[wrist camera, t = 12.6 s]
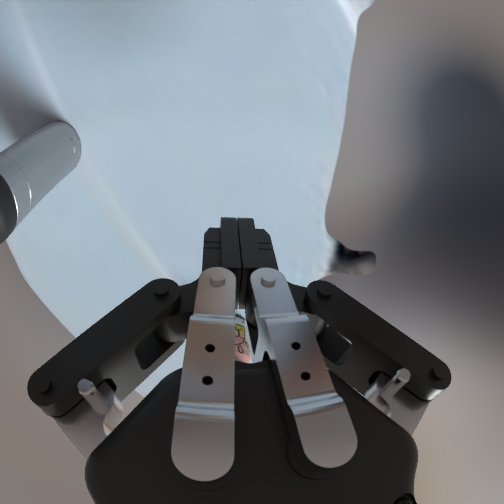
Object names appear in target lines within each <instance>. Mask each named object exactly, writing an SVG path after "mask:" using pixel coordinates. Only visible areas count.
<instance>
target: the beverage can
mask: <svg viewBox="0 0 504 504" xmlns="http://www.w3.org/2000/svg"><path fill="white" fill-rule="evenodd" d="M235 361H240V362H245V363H250V349H249V344H248V339H247V334H246V329H245V321H244V320H243V319H242V318H240V317H237V316H235Z"/></svg>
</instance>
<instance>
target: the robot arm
mask: <svg viewBox="0 0 504 504" xmlns="http://www.w3.org/2000/svg"><path fill="white" fill-rule="evenodd" d="M80 155H81V145H80V140H79V137H78V135H77V133H76V132H75V130H74V129H73V128H72V127H71V126H70V125H68V124H67V123H64V122H61V121H55V122H51V123H49V124H47V125H45V126H43V127H42V128H40V129H38V130H36V131H34V132H32V133H31V134H29V135H27V136H25V137H24V138H22V139H20V140H19V141H17V142H15V143H14V144H12V145H11V146H9V147H8V148H6V149H4V150H3V151H1V152H0V244H1V243H2V242H4V241H5V240H6V239H7V238H8V236H9V235H10V234H11V233H12V232H13V230H14V229H15V228H16V227H17V226H18V224H19V223H20V222H21V221H22V220H23V219H24V218H25V217H26V215H27V214H28V213H29V212H30V211H31V210H32V209H33V208H34V207H35V206H36V205H37V204H38V203H39V202H40V201H41V199H42V198H43V197H44V196H45V195H46V194H47V193H48V192H50V191H51V190H52V189H53V188H54V187H55V186H56V185H57V184H58V183H59V182H60V181H61V180H62V179H63V178H64V177H65V176H67V175H68V174H69V173H70V172H71V171H72V170H73V169H74V168H75V167H76V165H77V164H78V162H79V159H80ZM238 304H239V309H245V314H246V316H245V329H246V334H247V339H248V344H249V349H250V354H251V359H252V363H245V362H240V361H235V309H237V308H238ZM329 325H330V326H331V327H333V328H334V329H336V330H337V331H338V332H340V333H341V334H342V335H344V336H345V337H346V338H348V339H349V340H350V341H351V343H352V344H350V343H349V342H347V341H346V340H345V339H343V338H342V337H341V336H339V335H338V334H337V333H335V332H334V331H333V330H331V329H330V328H329V327H328V326H329ZM185 339H187V340H186V347H185V354H184V361H183V368H180V369H178V370H176V371H174V372H172V373H170V374H169V375H167V376H166V377H165V378H164V379H162V380H161V381H160V382H159V383H158V385H157V386H156V387H155V388H154V389H153V390H152V391H151V392H150V393H149V394H148V395H147V396H146V397H145V398H144V399H143V400H142V401H141V402H140V403H139V404H138V405H137V407H135V408H134V410H133V411H132V412H131V413H130V414H129V415H128V416H127V417H126V418H125V419H124V420H123V421H122V422H121V423H120V424H119V425H118V426H117V427H116V428H115V426H116V424H117V423H118V421H120V419H121V417H122V414H123V406H122V403H121V401H122V400H123V399H125V397H127V396H128V395H129V394H130V393H131V392H132V391H133V390H134V389H135V388H136V387H137V386H139V385H140V384H141V383H142V382H143V381H144V380H145V379H146V378H147V377H148V376H149V375H150V374H151V373H152V372H153V371H155V370H156V369H157V368H158V367H159V366H160V365H161V364H162V363H163V362H164V361H165V360H166V359H167V358H168V357H169V356H170V355H171V354H172V353H174V352H175V351H176V350H177V349H178V348H179V347H180V346H181V345H182V344H183V342H184V341H185ZM327 368H328V369H327ZM329 369H330V370H329ZM342 379H343V380H342ZM450 382H451V373H450V370H449V368H448V367H447V365H446V364H445V363H444V362H443V361H441V360H440V359H439V358H437V357H436V356H435V355H433V354H432V353H430V352H429V351H428V350H426V349H425V348H423V347H422V346H421V345H419V344H418V343H416V342H415V341H414V340H412V339H411V338H409V337H408V336H407V335H405V334H404V333H402V332H401V331H399V330H398V329H397V328H395V327H394V326H392V325H391V324H390V323H388V322H387V321H385V320H384V319H382V318H381V317H380V316H378V315H377V314H375V313H374V312H372V311H371V310H370V309H368V308H367V307H365V306H364V305H362V304H361V303H359V302H358V301H357V300H355V299H354V298H352V297H351V296H349V295H348V294H346V293H345V292H344V291H342V290H340V289H339V288H338V287H336V286H335V285H333V284H332V283H329V282H327V281H322V280H317V281H313V282H311V283H310V284H309V285H308V286H307V288H306V287H302V286H298V285H294V284H291V283H289V282H287V281H286V278H285V276H284V275H283V274H282V273H281V272H279V270H278V266H277V262H276V258H275V254H274V250H273V246H272V242H271V238H270V235H269V234H268V233H267V232H266V231H265V230H264V229H255V225H254V220H253V218H226V217H221V224H220V228H209V229H208V230H207V231H206V233H205V234H204V247H203V264H202V273H201V274H200V277H199V278H198V279H197V280H196V281H194V282H192V283H190V284H187V285H182V286H178V284H177V283H176V282H174V281H173V280H170V279H165V278H161V279H156V280H153V281H151V282H149V283H148V284H146V285H145V286H144V287H142V288H141V289H140V290H138V291H137V292H136V293H134V294H133V295H132V296H130V297H129V298H128V299H126V300H125V301H124V302H122V303H121V304H120V305H118V306H117V307H116V308H114V309H113V310H112V311H110V312H109V313H108V314H107V315H105V316H104V317H103V318H101V319H100V320H99V321H97V322H96V323H95V324H94V325H92V326H91V327H90V328H88V329H87V330H86V331H85V332H83V333H82V334H81V335H80V336H78V337H77V338H76V339H75V340H73V341H72V342H71V343H69V344H68V345H67V346H66V347H65V348H63V349H62V350H61V351H60V352H58V353H57V354H56V355H55V356H53V357H52V358H51V359H50V360H48V362H46V363H45V364H44V365H42V366H41V367H40V368H39V369H37V371H35V372H34V373H33V374H32V375H31V377H30V379H29V381H28V387H27V390H28V395H29V397H30V399H31V400H32V401H33V402H34V403H35V404H36V405H37V406H38V407H40V408H41V409H42V410H43V412H44V413H45V414H47V415H48V416H49V417H50V418H51V419H53V420H54V421H55V422H56V423H57V424H58V425H59V426H60V428H61V429H62V430H63V432H64V433H65V434H66V435H67V437H68V438H69V439H70V440H71V442H72V443H73V444H74V445H75V446H76V447H77V449H78V450H79V451H80V452H81V453H82V454H83V455H84V457H85V458H86V459H87V462H86V466H85V481H86V485H87V488H88V490H89V493H90V495H91V497H92V498H93V500H94V502H95V504H417V503H416V501H415V498H414V478H415V472H416V468H417V463H418V450H417V446H416V443H415V441H414V439H413V438H412V436H411V435H412V434H413V432H414V430H415V429H416V427H417V425H418V423H419V421H420V420H421V418H422V416H423V414H424V412H425V410H426V408H427V406H428V404H429V402H431V401H432V400H433V399H434V398H435V397H437V396H438V395H439V394H440V393H441V392H442V391H444V390H445V389H446V388H447V387H448V386H449V384H450ZM347 383H348V384H347ZM351 386H352V387H353V388H355V389H356V390H357V391H358V392H360V393H361V394H362V395H364V396H365V397H363V396H362V395H361V394H360V393H358V392H357V391H356V390H355V389H353V388H352V387H351Z"/></svg>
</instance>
